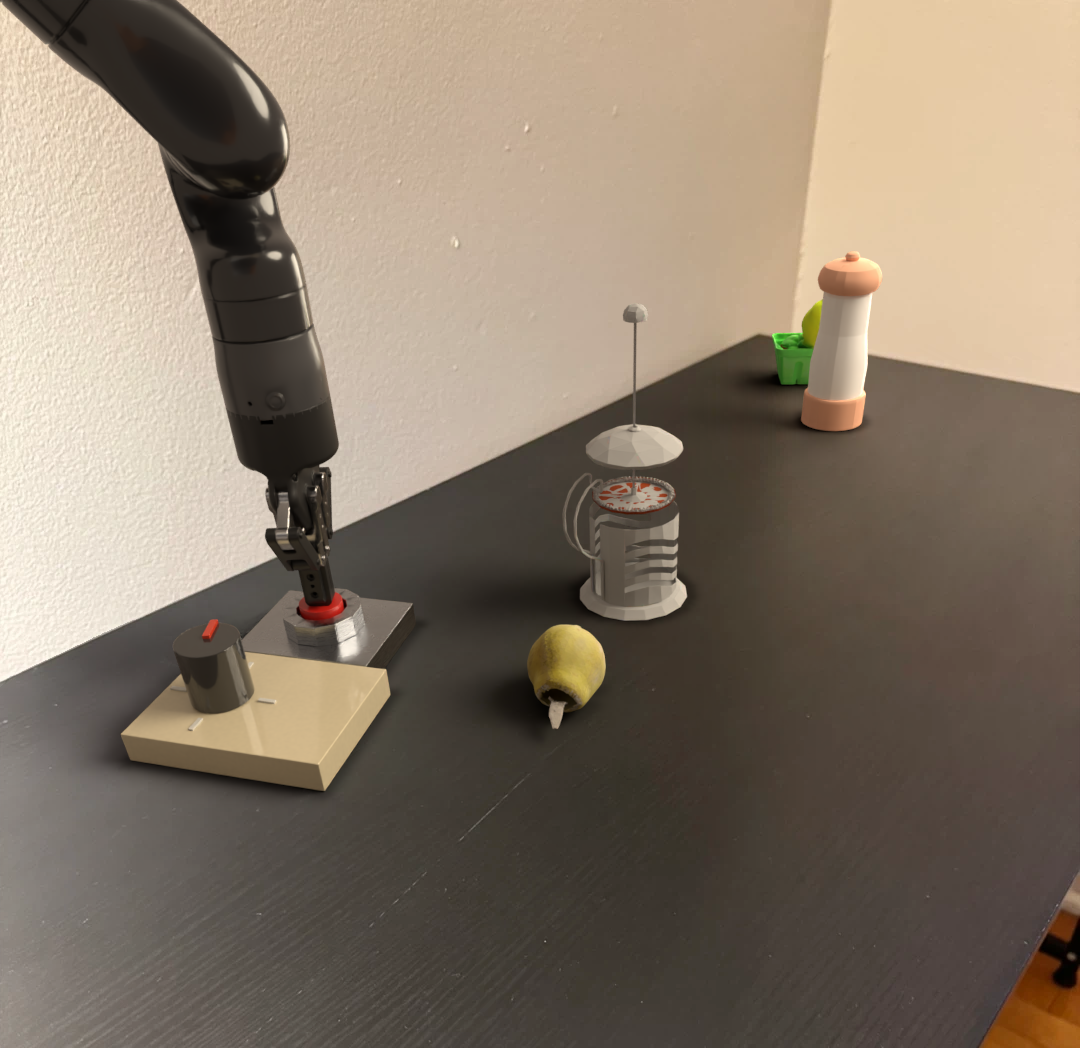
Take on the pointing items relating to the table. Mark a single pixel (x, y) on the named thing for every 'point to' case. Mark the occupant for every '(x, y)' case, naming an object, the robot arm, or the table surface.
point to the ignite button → (321, 609)
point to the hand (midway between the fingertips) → (321, 601)
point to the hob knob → (214, 667)
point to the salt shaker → (841, 345)
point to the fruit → (565, 669)
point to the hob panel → (266, 723)
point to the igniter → (334, 631)
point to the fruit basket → (797, 349)
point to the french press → (617, 575)
